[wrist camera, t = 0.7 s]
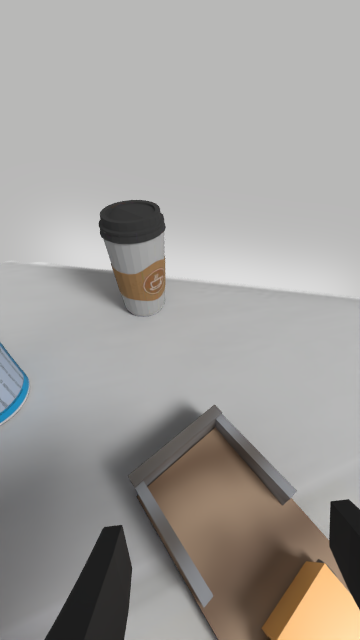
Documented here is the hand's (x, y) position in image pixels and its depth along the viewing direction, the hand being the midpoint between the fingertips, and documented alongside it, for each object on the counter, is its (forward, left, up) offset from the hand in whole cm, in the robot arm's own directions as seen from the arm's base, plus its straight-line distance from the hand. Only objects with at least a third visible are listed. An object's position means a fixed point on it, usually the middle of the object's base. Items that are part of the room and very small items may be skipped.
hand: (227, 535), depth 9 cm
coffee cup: (+29, -13, -16) cm, 35 cm away
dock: (-2, -3, -16) cm, 17 cm away
